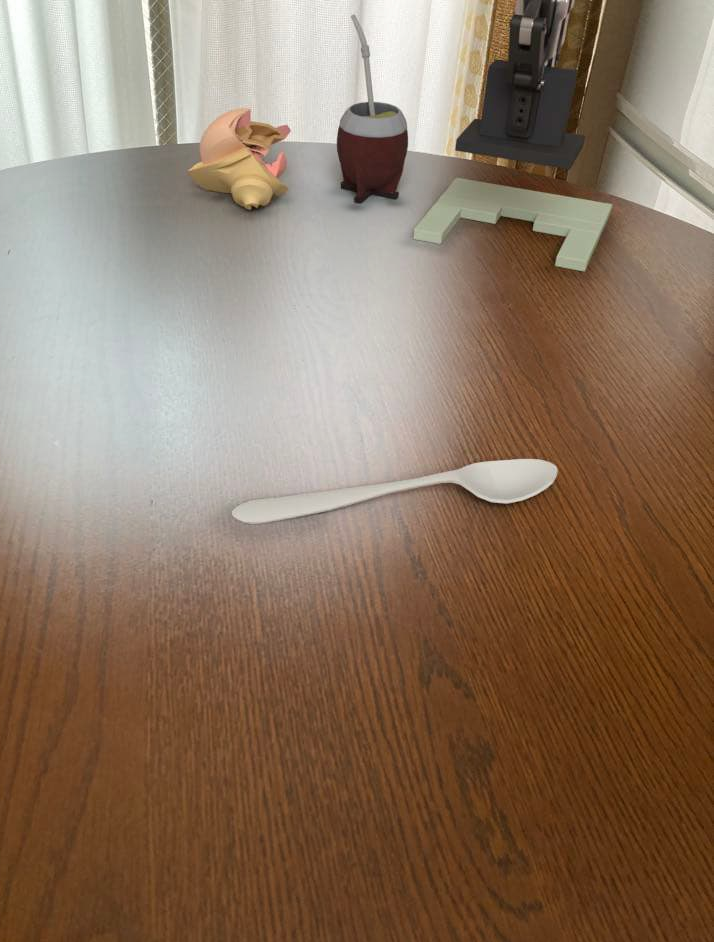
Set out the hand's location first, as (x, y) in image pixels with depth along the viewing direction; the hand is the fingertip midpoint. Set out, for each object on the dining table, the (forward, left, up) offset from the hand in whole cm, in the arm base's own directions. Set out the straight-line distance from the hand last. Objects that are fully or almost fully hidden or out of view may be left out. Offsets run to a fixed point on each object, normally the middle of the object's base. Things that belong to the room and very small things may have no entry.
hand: (523, 129), depth 79 cm
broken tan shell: (+27, +1, -10) cm, 29 cm away
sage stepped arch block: (0, -4, -10) cm, 11 cm away
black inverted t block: (0, 0, -2) cm, 2 cm away
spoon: (-3, +40, -10) cm, 42 cm away
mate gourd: (+16, -6, -10) cm, 20 cm away
